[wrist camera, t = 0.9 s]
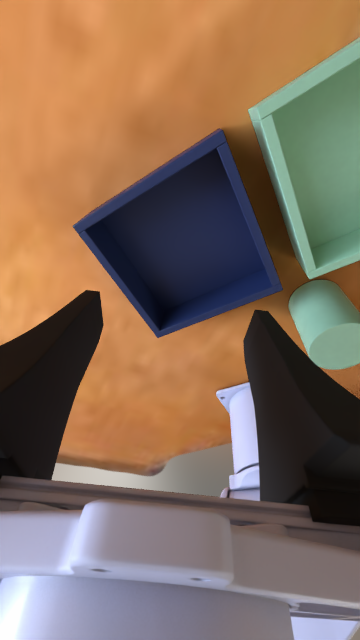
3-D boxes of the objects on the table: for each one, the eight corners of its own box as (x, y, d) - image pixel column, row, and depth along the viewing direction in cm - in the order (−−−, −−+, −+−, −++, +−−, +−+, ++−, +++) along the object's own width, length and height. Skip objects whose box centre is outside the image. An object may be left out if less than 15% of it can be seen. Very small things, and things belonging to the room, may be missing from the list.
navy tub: (273, 268, 22) (283, 290, 19) (163, 314, 26) (157, 338, 23) (219, 127, 17) (222, 129, 14) (90, 211, 20) (72, 226, 18)
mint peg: (346, 311, 24) (381, 359, 19) (295, 327, 25) (316, 376, 20) (336, 270, 22) (373, 313, 17) (282, 291, 23) (301, 336, 18)
